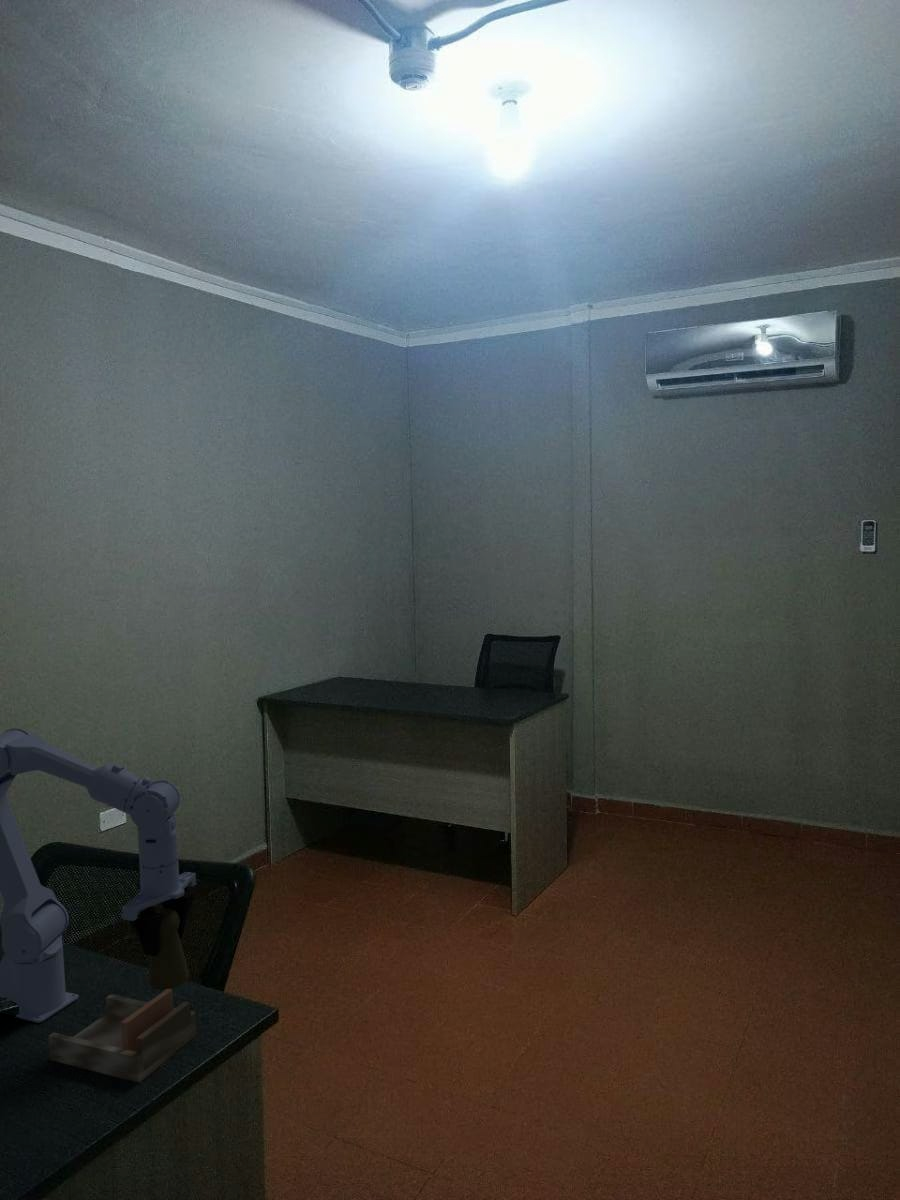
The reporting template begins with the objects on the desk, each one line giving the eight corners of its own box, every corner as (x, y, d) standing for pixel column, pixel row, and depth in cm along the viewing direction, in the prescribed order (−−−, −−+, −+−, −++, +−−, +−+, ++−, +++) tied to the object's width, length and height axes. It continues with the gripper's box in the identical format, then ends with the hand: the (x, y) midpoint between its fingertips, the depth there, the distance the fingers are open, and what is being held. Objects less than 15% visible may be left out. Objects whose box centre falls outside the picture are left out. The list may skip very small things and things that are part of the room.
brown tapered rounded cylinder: (176, 990, 134) (168, 920, 133) (141, 989, 135) (133, 920, 135) (196, 970, 140) (188, 903, 139) (162, 969, 141) (154, 903, 141)
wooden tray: (50, 1059, 124) (47, 1022, 124) (112, 1016, 135) (110, 981, 135) (139, 1082, 118) (136, 1043, 118) (196, 1035, 129) (194, 999, 129)
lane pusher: (123, 1063, 121) (120, 1021, 120) (169, 1027, 129) (167, 988, 129) (129, 1064, 120) (126, 1023, 120) (175, 1028, 129) (172, 989, 128)
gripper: (146, 882, 128) (151, 972, 129) (209, 848, 142) (213, 930, 142) (109, 876, 131) (114, 964, 132) (174, 844, 144) (178, 924, 145)
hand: (163, 946), depth 137 cm, fingers closed on brown tapered rounded cylinder, 5 cm apart
